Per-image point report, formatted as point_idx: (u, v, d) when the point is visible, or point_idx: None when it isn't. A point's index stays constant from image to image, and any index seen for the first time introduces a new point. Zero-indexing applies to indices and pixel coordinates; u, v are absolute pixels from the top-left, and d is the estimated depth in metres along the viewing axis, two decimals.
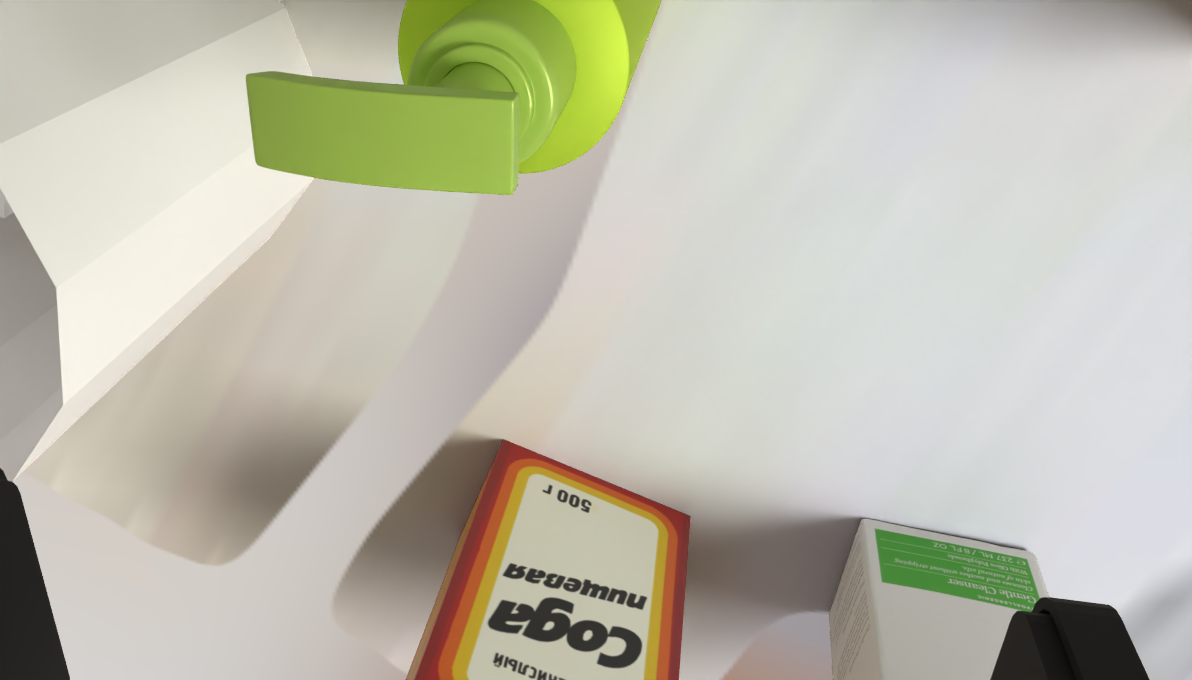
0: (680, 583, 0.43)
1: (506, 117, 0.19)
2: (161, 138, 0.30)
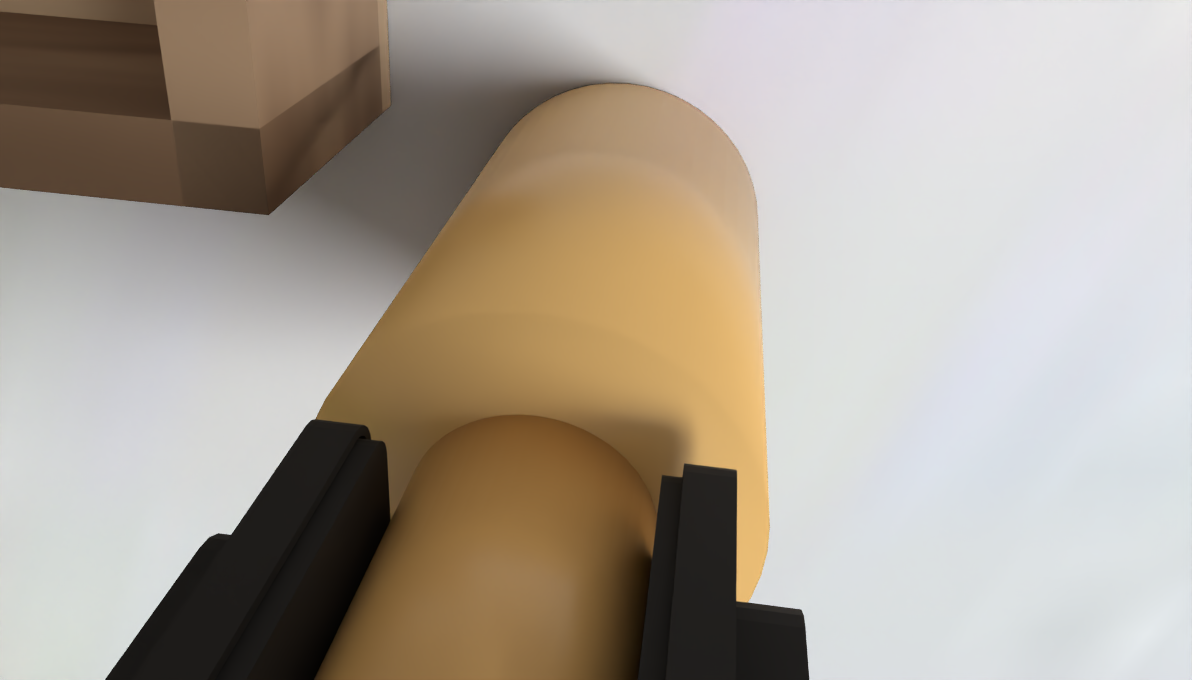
0: None
1: None
2: None
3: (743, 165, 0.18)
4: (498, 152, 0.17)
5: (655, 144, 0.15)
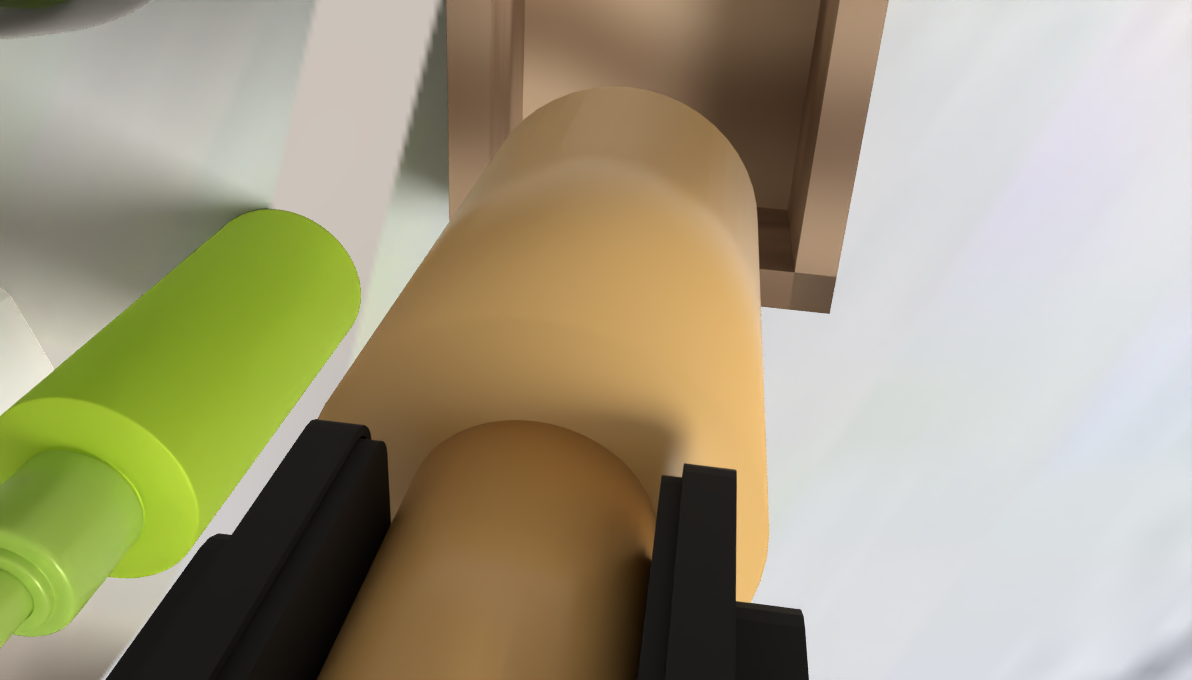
0: None
1: None
2: None
3: (743, 168, 0.18)
4: (498, 156, 0.17)
5: (655, 148, 0.15)
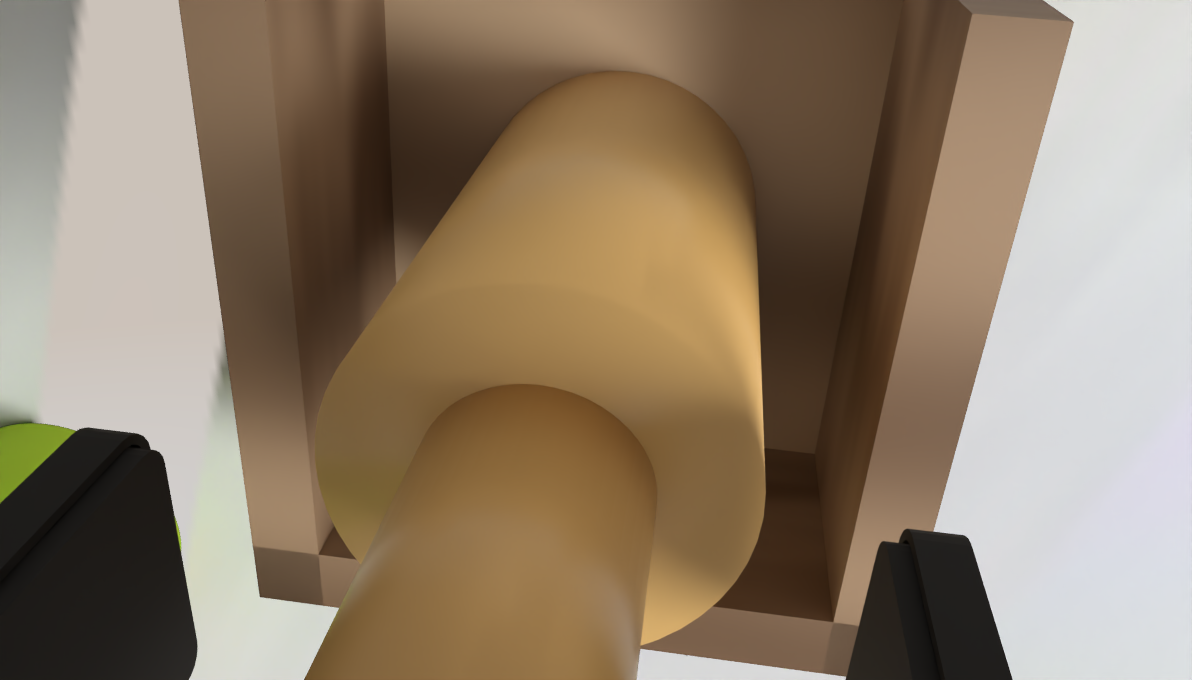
0: None
1: None
2: None
3: (741, 151, 0.18)
4: (501, 138, 0.17)
5: (655, 129, 0.16)
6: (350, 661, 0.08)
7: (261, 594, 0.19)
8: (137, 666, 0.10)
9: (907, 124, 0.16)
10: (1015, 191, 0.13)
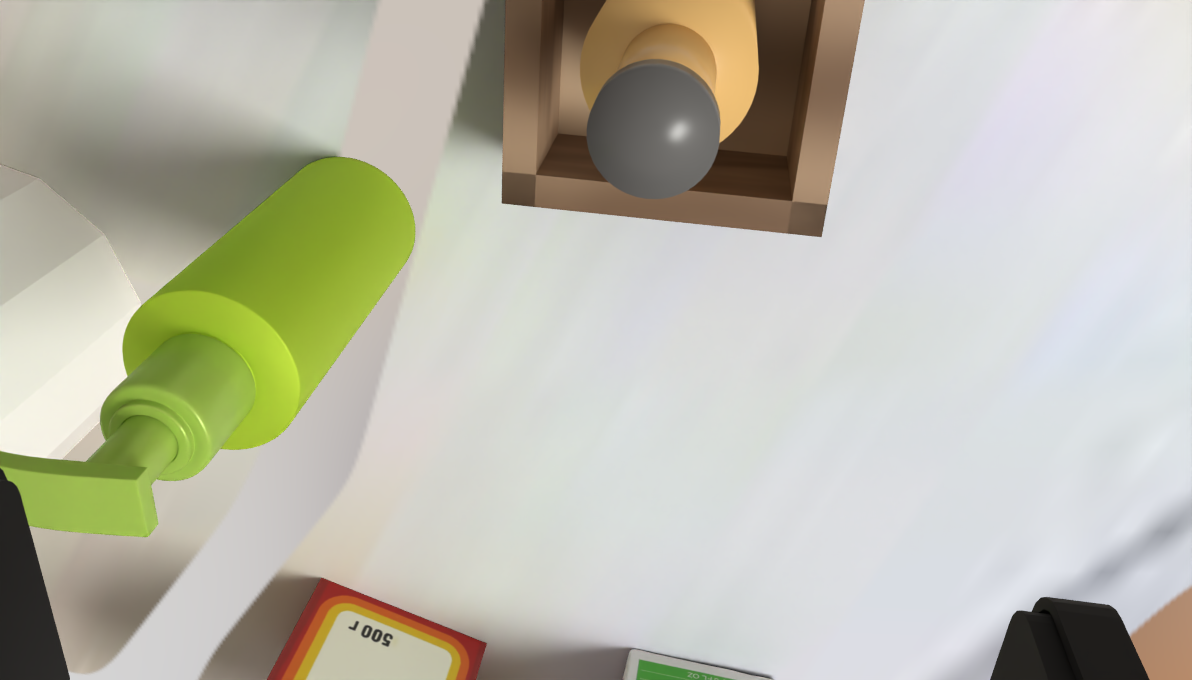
0: None
1: (133, 489, 0.26)
2: None
3: None
4: None
5: None
6: (633, 62, 0.26)
7: (502, 201, 0.36)
8: None
9: None
10: None
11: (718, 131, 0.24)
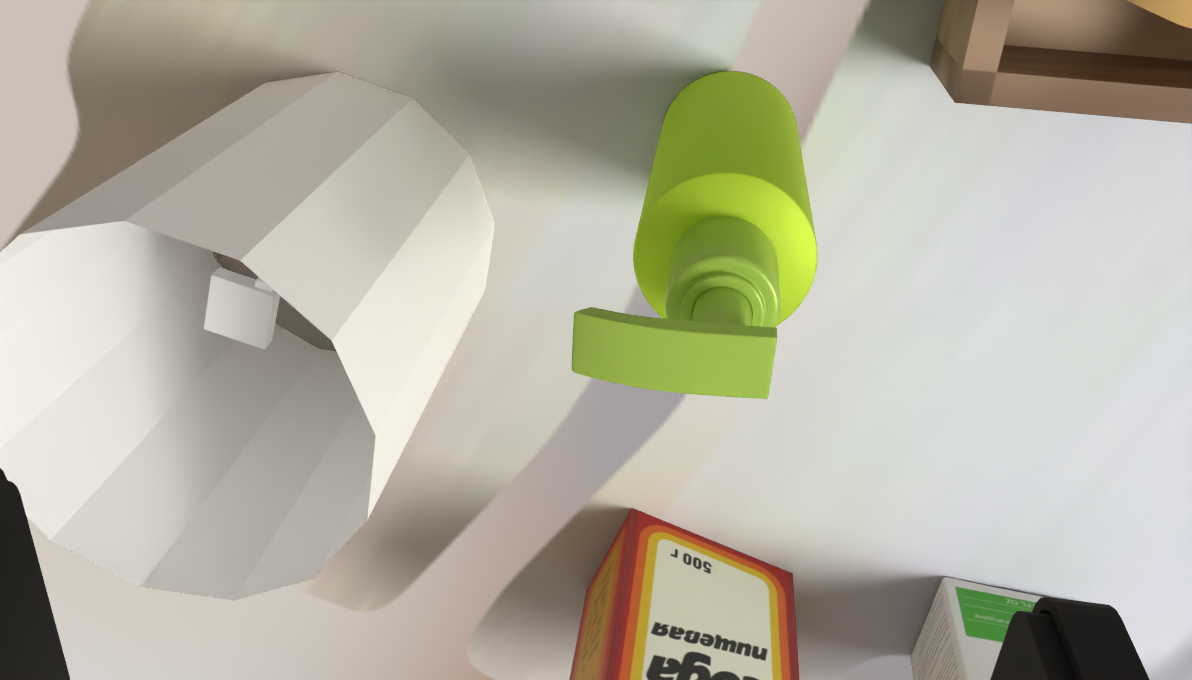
0: (792, 635, 0.51)
1: (770, 348, 0.26)
2: (415, 295, 0.37)
3: None
4: None
5: None
6: None
7: (956, 100, 0.37)
8: None
9: None
10: None
11: None
